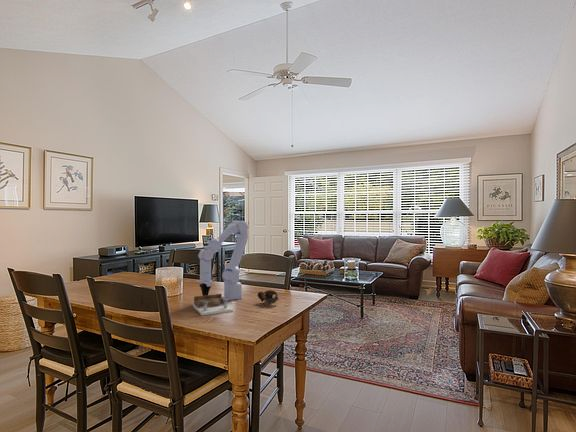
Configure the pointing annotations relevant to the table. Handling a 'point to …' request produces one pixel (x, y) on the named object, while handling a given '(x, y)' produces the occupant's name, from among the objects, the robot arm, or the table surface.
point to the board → (213, 308)
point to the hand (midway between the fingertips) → (205, 297)
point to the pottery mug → (268, 297)
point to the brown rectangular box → (208, 300)
